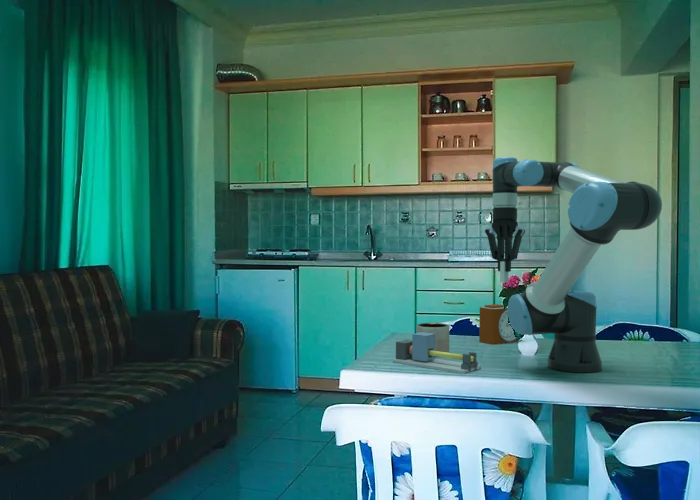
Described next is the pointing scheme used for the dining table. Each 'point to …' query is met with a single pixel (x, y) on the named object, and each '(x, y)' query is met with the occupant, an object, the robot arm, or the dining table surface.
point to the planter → (437, 334)
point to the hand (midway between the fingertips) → (504, 282)
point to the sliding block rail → (406, 358)
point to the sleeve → (422, 346)
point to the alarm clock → (495, 325)
